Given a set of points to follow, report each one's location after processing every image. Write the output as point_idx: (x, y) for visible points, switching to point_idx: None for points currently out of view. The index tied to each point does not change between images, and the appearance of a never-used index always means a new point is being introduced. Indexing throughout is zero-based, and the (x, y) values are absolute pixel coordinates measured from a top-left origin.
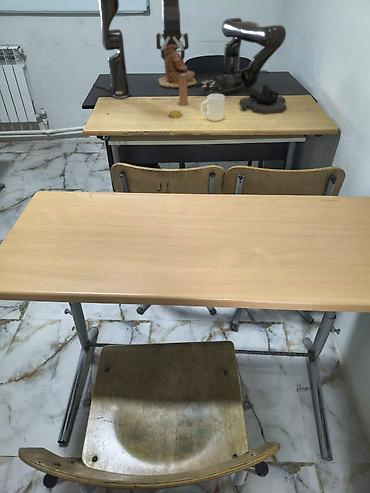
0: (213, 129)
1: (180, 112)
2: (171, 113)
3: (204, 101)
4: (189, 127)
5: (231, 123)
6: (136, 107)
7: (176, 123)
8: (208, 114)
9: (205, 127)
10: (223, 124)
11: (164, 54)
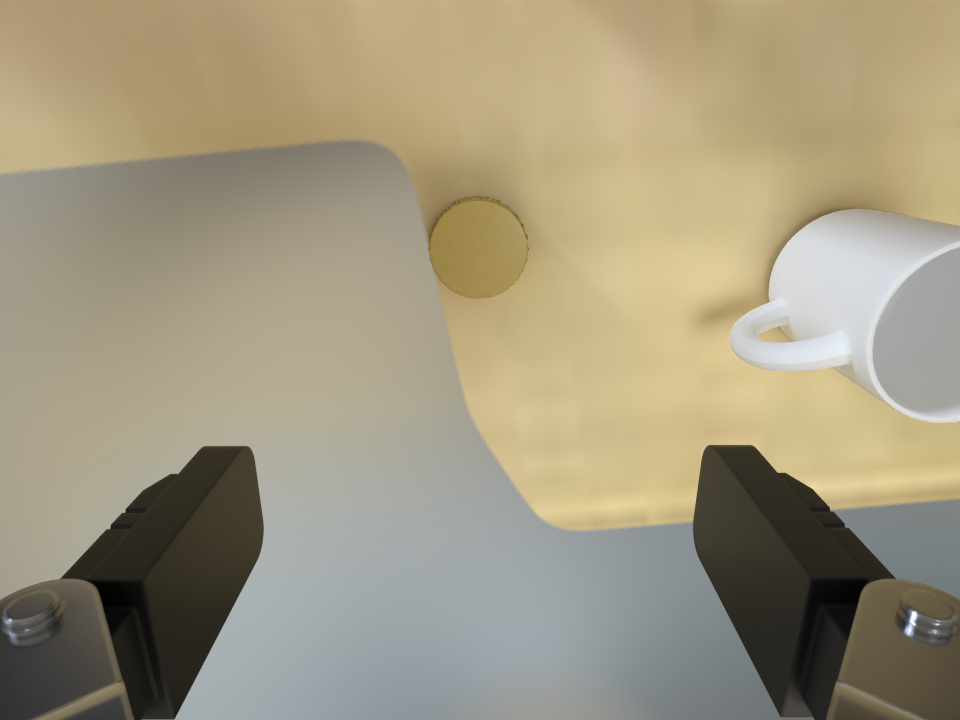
0: None
1: (527, 251)
2: (449, 285)
3: (810, 368)
4: (625, 469)
5: None
6: (25, 52)
7: (517, 409)
8: (793, 335)
9: None
10: None
11: (215, 565)
